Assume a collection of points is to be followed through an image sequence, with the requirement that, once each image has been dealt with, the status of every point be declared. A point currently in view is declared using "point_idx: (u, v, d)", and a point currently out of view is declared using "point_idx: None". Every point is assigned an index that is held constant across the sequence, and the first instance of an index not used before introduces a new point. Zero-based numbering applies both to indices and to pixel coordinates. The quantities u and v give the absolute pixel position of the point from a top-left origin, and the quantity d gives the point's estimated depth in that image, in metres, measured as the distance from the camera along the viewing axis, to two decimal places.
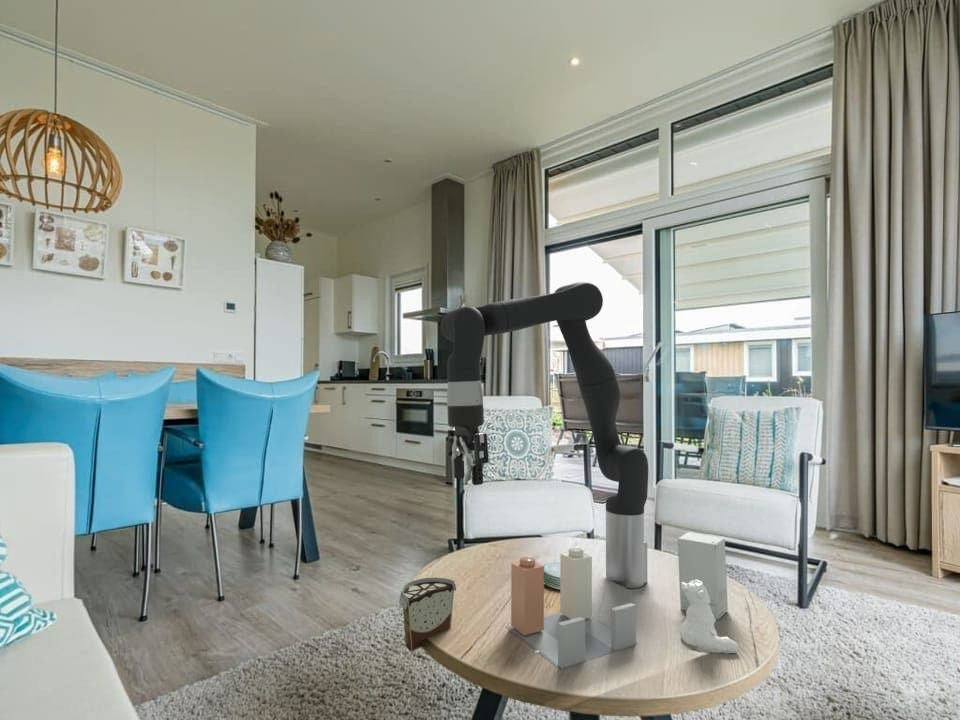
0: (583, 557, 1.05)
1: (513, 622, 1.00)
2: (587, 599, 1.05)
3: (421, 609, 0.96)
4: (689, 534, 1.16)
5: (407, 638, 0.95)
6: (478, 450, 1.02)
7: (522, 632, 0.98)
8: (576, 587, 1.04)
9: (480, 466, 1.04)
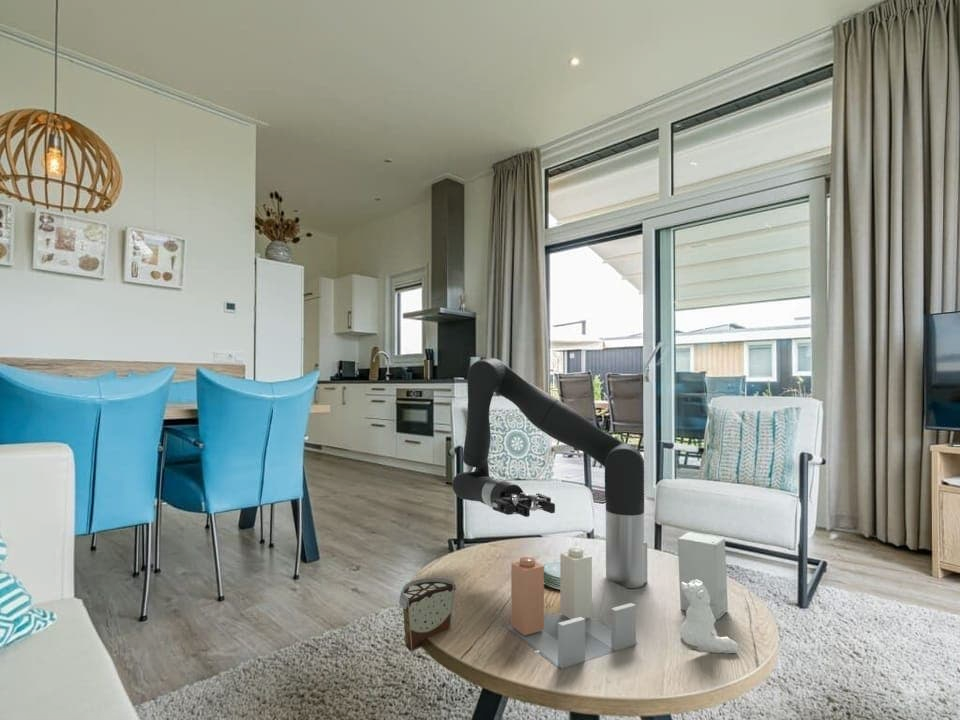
0: (583, 557, 1.05)
1: (513, 622, 1.00)
2: (587, 599, 1.05)
3: (421, 609, 0.96)
4: (689, 534, 1.16)
5: (407, 638, 0.95)
6: (500, 510, 1.20)
7: (522, 632, 0.98)
8: (576, 587, 1.04)
9: (514, 508, 1.18)
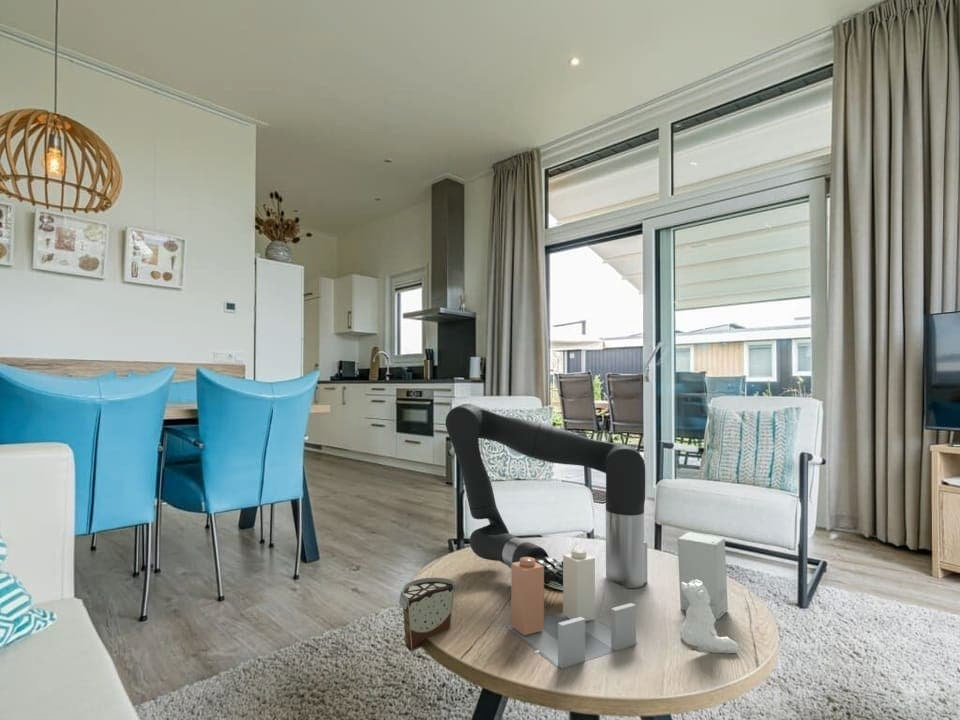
0: (586, 558, 1.04)
1: (513, 622, 1.00)
2: (590, 600, 1.04)
3: (421, 609, 0.96)
4: (689, 534, 1.16)
5: (407, 638, 0.95)
6: None
7: (522, 632, 0.98)
8: (579, 589, 1.03)
9: (554, 577, 1.10)
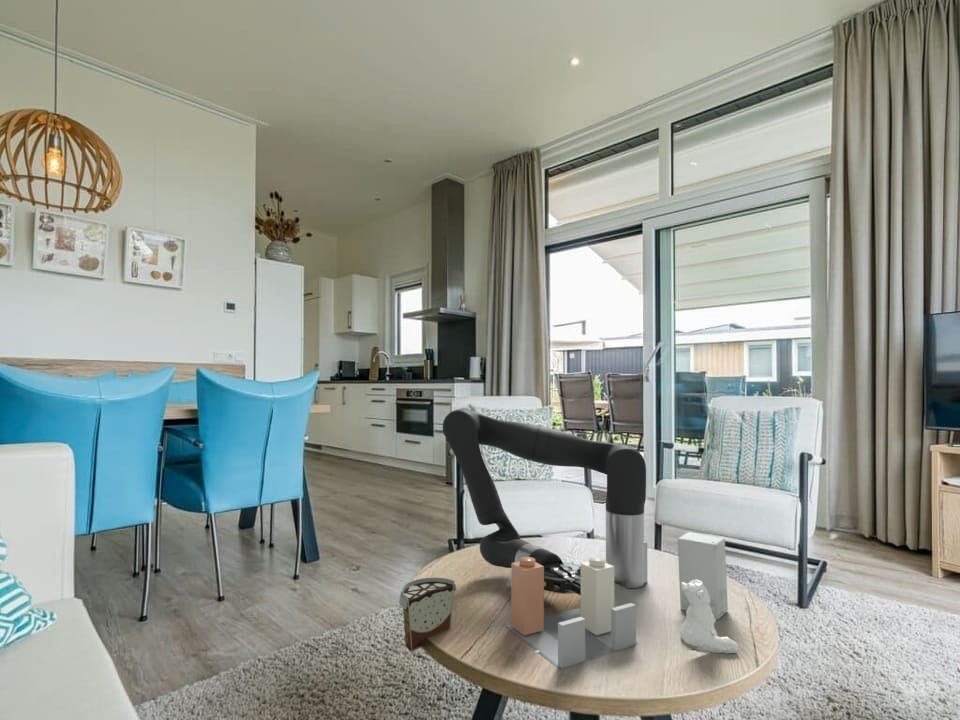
0: (605, 567, 1.00)
1: (513, 622, 1.00)
2: (610, 611, 0.99)
3: (421, 609, 0.96)
4: (689, 534, 1.16)
5: (407, 638, 0.95)
6: (552, 589, 1.06)
7: (522, 632, 0.98)
8: (598, 599, 0.98)
9: (571, 586, 1.05)
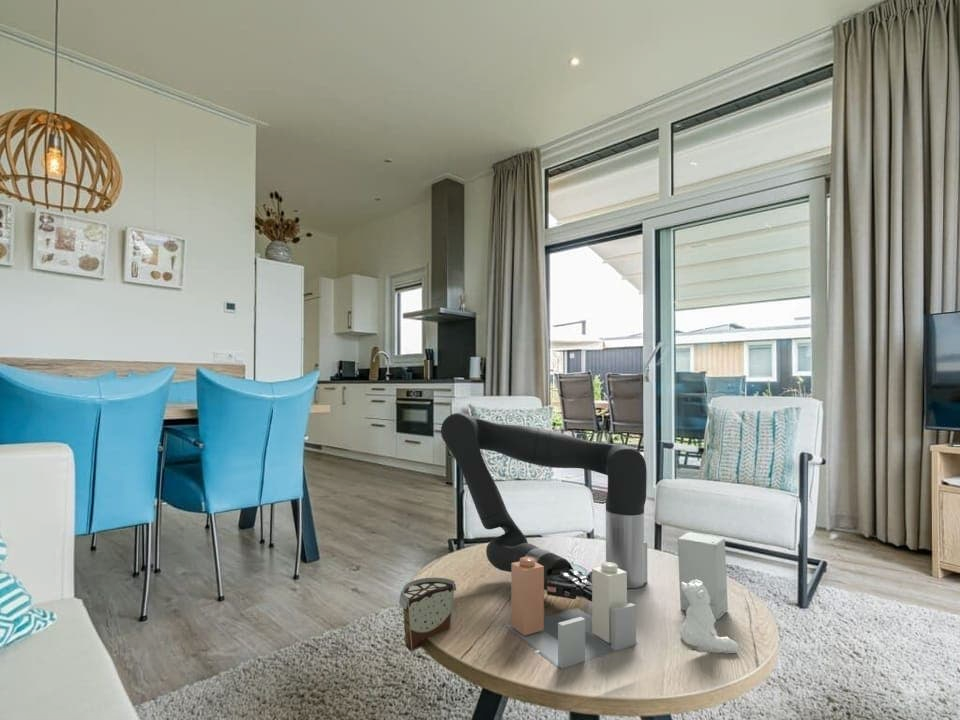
0: (618, 573, 0.97)
1: (513, 622, 1.00)
2: None
3: (421, 609, 0.96)
4: (689, 534, 1.16)
5: (407, 638, 0.95)
6: (562, 595, 1.03)
7: (522, 632, 0.98)
8: (610, 606, 0.95)
9: (582, 591, 1.02)
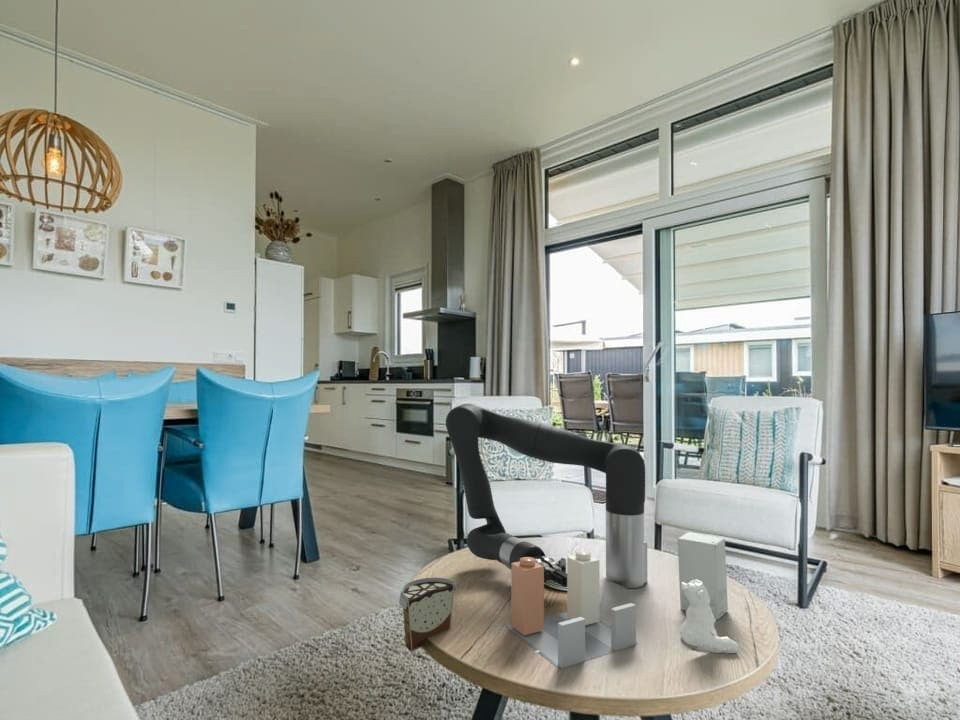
0: (591, 560, 1.03)
1: (513, 622, 1.00)
2: (595, 603, 1.03)
3: (421, 609, 0.96)
4: (689, 534, 1.16)
5: (407, 638, 0.95)
6: None
7: (522, 632, 0.98)
8: (583, 591, 1.02)
9: (551, 576, 1.11)
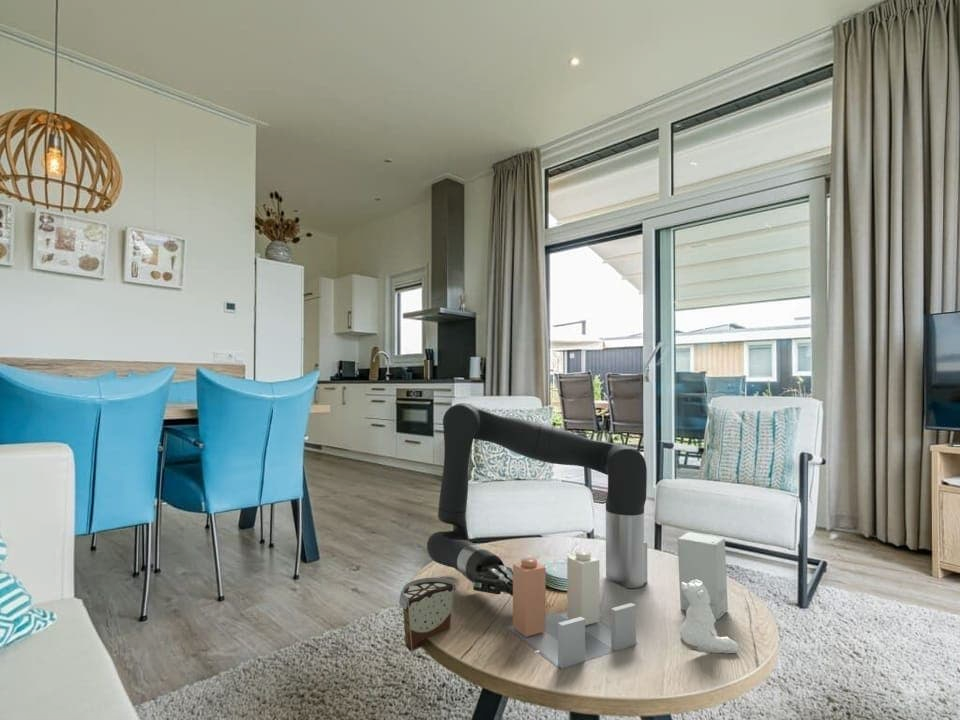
0: (591, 560, 1.03)
1: (515, 623, 1.00)
2: (595, 603, 1.03)
3: (421, 609, 0.96)
4: (689, 534, 1.16)
5: (407, 638, 0.95)
6: (487, 591, 1.05)
7: (524, 633, 0.97)
8: (583, 591, 1.02)
9: (505, 587, 1.05)
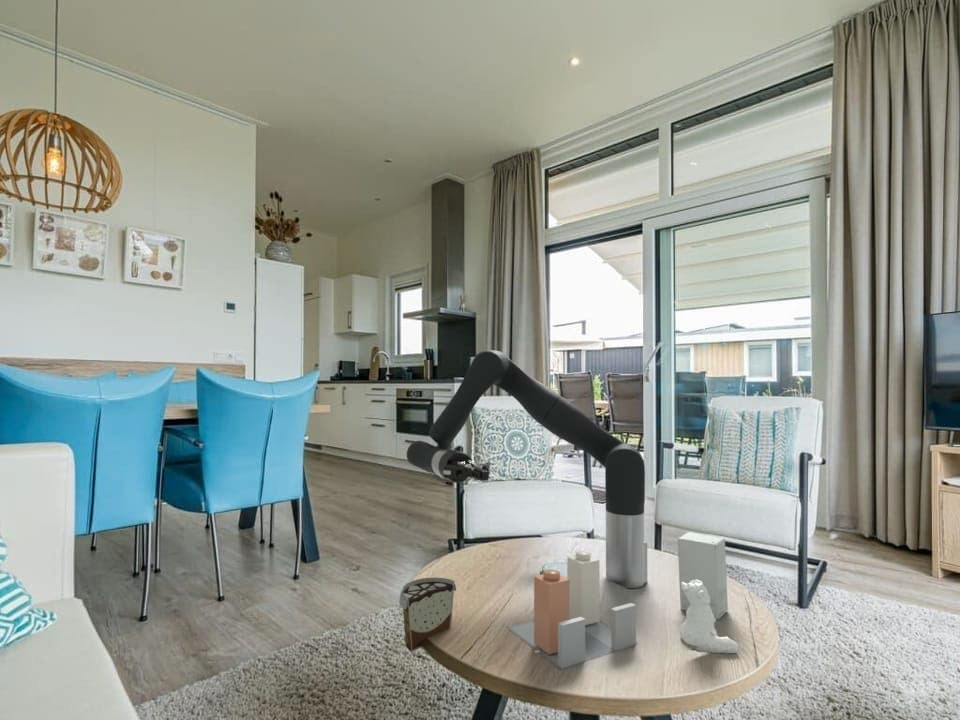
0: (591, 560, 1.03)
1: (536, 639, 0.94)
2: (595, 603, 1.03)
3: (421, 609, 0.96)
4: (689, 534, 1.16)
5: (407, 638, 0.95)
6: (455, 477, 1.19)
7: (547, 651, 0.91)
8: (583, 591, 1.02)
9: (471, 473, 1.18)
